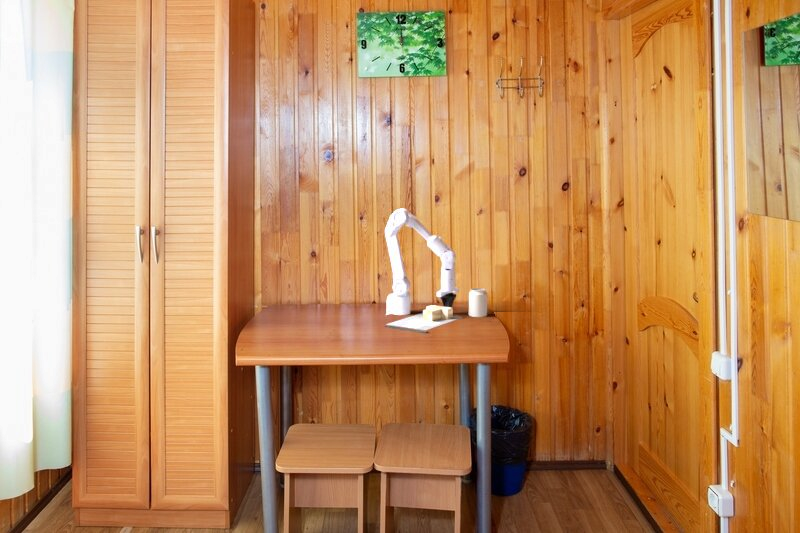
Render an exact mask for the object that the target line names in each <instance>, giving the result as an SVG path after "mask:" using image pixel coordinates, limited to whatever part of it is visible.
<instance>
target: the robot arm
mask: <svg viewBox="0 0 800 533" xmlns="http://www.w3.org/2000/svg"><path fill="white" fill-rule="evenodd" d="M404 225H405V227H408V228H412V229H414V230H415V231H416V232H417V233H418V234H419V235H420V236H422V238H423V239H425V241H426V245H427V247H428V248H429V249H430V250H431V251H432V252H433V253H434V254H435V255H436V257H439V258H440V261H441V269H440V272H441V273H440V289H439V290H438V291H436V297H438V298H440V301H441V302H442V305H443V306H442V307H450V308H453V305H454V301H455V300H456V298H457V294H456V293H459V292H460V289H459V287H457V286H456V263H455V262H456V252H455V251H454V249H452V248H451V246H450V245H447V244H446V243H445V242H444V241H443V238H442V236H438V235H433V234H432V233H431V232H430V231H429V230H428V228H426V227H425V226H424V224H423V223H422V222H421V221H420V220H419V219H418V218H417V217H416V216H415V215H414V214H413V213H411V212H409V210H408V209H406V208H404V207H403V208H398V209H396V210H394V211H393V213H392V214H391V215H389V219H388V221H387V224H386V226H385V229H384V234H385V240H386V245H387V249H388V255H389V258H390V263H391V269H392V279H393V280H392V281H393V283H392V291H393V293H389V294H388V296H387V298H386V314H385V316H387V315H397V316H406V315H410V314H411V292H410V291H409V290H410V288H411V282H410V279H408V277H407V273H406V270H405V266H404V260H403V256H402V252H401V245H400V241H399V236H398V232H399V231H400V229H401V228H402V226H404Z"/></svg>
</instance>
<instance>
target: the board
mask: <svg viewBox="0 0 800 533" xmlns="http://www.w3.org/2000/svg"><path fill="white" fill-rule="evenodd" d="M462 318H463V316H456V315H453V318H450V319H438V320H435V321H432V322H431V321H424V320H423V312H420V313H417V314H415V315H411V316H409V317H404V318H401V319H399V320H395V321H392V322H388V323H386V324H385V328H386V327H387V328H388V329H394V330H400V331H407V332H413V333H414V332H415V333H419V334H428V333H430V331H428V330H430V329H433V328H434V329H435V328H437V327H439V326H440V327H441V326H442V325H443V326H444V325H445V324H448V323H451V322H454V321H457V320H459V319H462Z"/></svg>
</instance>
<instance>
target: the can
mask: <svg viewBox="0 0 800 533" xmlns="http://www.w3.org/2000/svg"><path fill="white" fill-rule="evenodd" d="M468 316H469V317H473V318H486V317H487V316H488V292H487V291H486V288H482V287H474V288H470V291H469V292H468Z"/></svg>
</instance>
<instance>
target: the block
mask: <svg viewBox="0 0 800 533" xmlns="http://www.w3.org/2000/svg"><path fill="white" fill-rule="evenodd" d="M453 309H454V308H453V307H452V308H450V307H444V306H442V305H434V304H433V305H432V304H431V305H428V306H426V307H425V309H423V310H422V313H423V320H424V321H431V322H432V321H435V320H438V319H450V318H453V316H454V314H453V313H454V312H453V311H454V310H453Z"/></svg>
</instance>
